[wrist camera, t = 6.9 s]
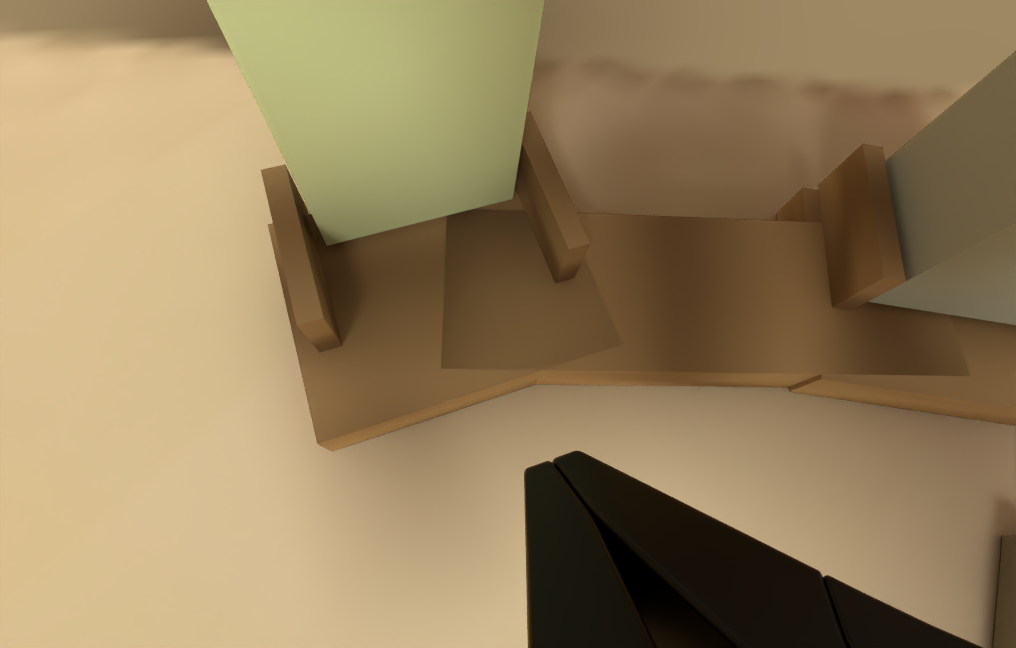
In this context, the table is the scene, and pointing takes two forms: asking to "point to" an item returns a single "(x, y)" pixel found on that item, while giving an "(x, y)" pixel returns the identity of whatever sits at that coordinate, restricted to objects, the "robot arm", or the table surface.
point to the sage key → (390, 101)
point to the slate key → (960, 206)
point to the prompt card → (1006, 596)
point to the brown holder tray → (621, 305)
